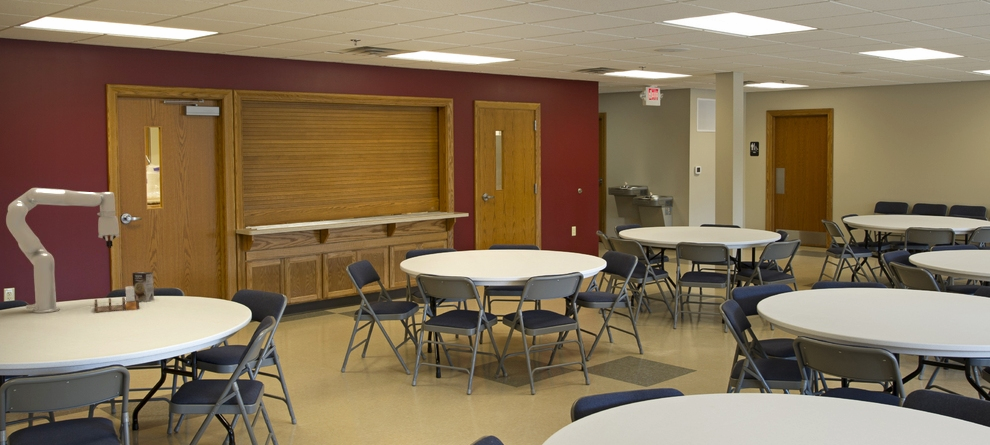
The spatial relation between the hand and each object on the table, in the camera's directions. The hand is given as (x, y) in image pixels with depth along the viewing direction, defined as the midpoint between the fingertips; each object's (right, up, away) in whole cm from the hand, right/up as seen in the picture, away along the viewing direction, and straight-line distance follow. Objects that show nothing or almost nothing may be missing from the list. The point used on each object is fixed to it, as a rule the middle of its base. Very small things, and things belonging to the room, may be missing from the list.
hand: (109, 247), depth 459 cm
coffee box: (+14, -30, +11) cm, 35 cm away
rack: (+10, -32, -13) cm, 36 cm away
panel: (+16, -31, -11) cm, 37 cm away
